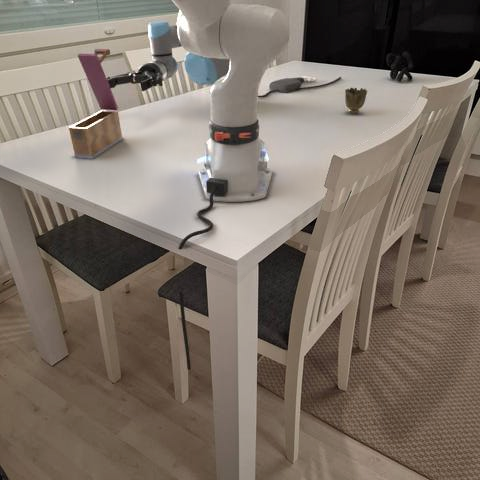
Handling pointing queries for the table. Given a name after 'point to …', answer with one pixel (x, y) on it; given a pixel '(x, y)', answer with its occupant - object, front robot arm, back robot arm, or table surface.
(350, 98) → the cup
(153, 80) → the back robot arm
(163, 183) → the table surface
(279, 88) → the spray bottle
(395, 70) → the squiggle
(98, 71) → the lid
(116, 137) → the chest
